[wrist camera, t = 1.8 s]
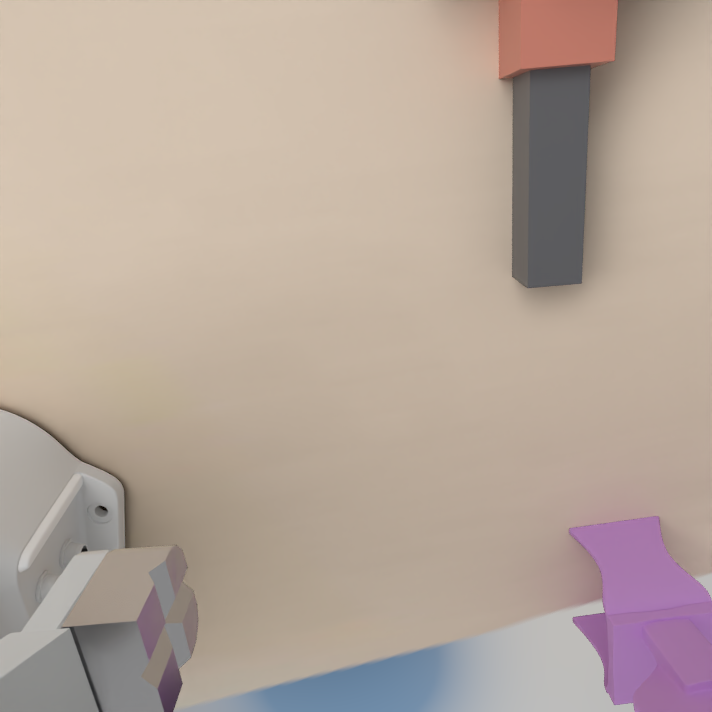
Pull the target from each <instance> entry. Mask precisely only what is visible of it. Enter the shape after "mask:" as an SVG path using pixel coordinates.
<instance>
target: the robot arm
mask: <svg viewBox="0 0 712 712" xmlns="http://www.w3.org/2000/svg"><path fill="white" fill-rule="evenodd" d="M99 506H104V507H105V508H106V509H107V510H108V511H104V510H102V509H101V508H100V507H99ZM187 568H188V567H187V563H186V560H185V557H184V553H183V550H182V549H181V548H180V547H178V546H177V545H168V546H153V547H138V548H125V512H124V489H123V486H122V484H121V483H120V481H119V480H118V479H116V478H115V477H114V476H112V475H110V474H109V473H107V472H105V471H103V470H101V469H98V468H96V467H94V466H91V465H89V464H86V463H84V462H81V461H80V460H79V459H77V458H76V457H74V456H73V455H72V454H71V453H70V452H68V451H67V450H66V449H65V448H64V447H63V446H62V445H61V444H60V443H59V442H58V441H56V440H55V439H54V438H53V437H52V436H51V435H49V434H48V433H47V432H45V431H44V430H42V429H41V428H39V427H38V426H36V425H35V424H33V423H31V422H29V421H28V420H26V419H24V418H22V417H19V416H17V415H15V414H12V413H10V412H7V411H4V410H1V409H0V712H173V710H174V707H175V704H176V701H177V698H178V695H179V693H180V690H181V687H182V684H183V683H182V680H181V676H180V672H179V668H180V667H181V666H182V665H183V664H184V663H186V662H187V661H188V660H189V659H190V658H191V656H192V653H193V650H194V646H195V643H196V639H197V629H198V610H197V602H196V598H195V594H194V591H193V590H192V589H191V588H190V587H188V586H187V585H186V584H185V583H184V582H182V581H183V578H184V575H185V573H186V570H187Z"/></svg>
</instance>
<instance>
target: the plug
mask: <svg viewBox="0 0 712 712" xmlns="http://www.w3.org/2000/svg"><path fill="white" fill-rule="evenodd" d="M617 7H618V0H499V79H503V78H513V194H512V277H513V278H515V279H516V280H517V281H519V282H520V283H521V284H523V285H524V286H525V287H527V288H535V287H546V286H558V285H570V284H581V283H582V263H583V239H584V215H585V191H586V167H587V143H588V119H589V95H590V71H591V68H594V67H597V66H600V65H603V64H606V63H609V62H612V61H615V44H616V26H617Z"/></svg>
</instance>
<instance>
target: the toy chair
mask: <svg viewBox="0 0 712 712" xmlns="http://www.w3.org/2000/svg"><path fill="white" fill-rule="evenodd" d="M569 533H570V534H571V535H572V536H573V537H574V538H575V539H576V540H577V541H578V542H579V543H580V544H581V545H582V546H583V547H584V548H585V549H586V550H587V551H588V553H589V554H590V555H591V556H592V557H593V559H594V560H595V562H596V563H597V565H598V566H599V569H600V572H601V575H602V582H603V607H604V611H605V613H600V614H592V615H585V616H578V617H573V622H574V624H575V625H576V626H577V627H578V628H579V629H580V630H581V631H582V633H583V634H584V635H585V636H586V637H587V639H588V640H589V641H590V642H591V644H592V645H593V646H594V648H595V649H596V651H597V652H598V654H599V656H600V657H601V660H602V663H603V666H604V686H605V689H606V692H607V693H609V695H610V697H611V699H612V701H613V703H614V705H619V704H627V703H634V710H635V712H712V601H711V597H710V595H709V593H708V591H707V590H706V589H705V588H704V587H703V586H702V585H701V584H700V583H699V582H698V581H697V580H695V579H694V578H693V577H692V576H690V575H689V574H688V573H687V572H686V571H684V570H683V569H682V568H681V567H680V566H679V565H678V564H677V563H676V562H675V561H674V560H673V559H672V558H671V556H670V555H669V554H668V552H667V550H666V548H665V546H664V543H663V539H662V536H661V530H660V521H659V517H658V516H654V517H647V518H639V519H632V520H625V521H618V522H611V523H604V524H597V525H590V526H583V527H576V528H570V529H569Z"/></svg>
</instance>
